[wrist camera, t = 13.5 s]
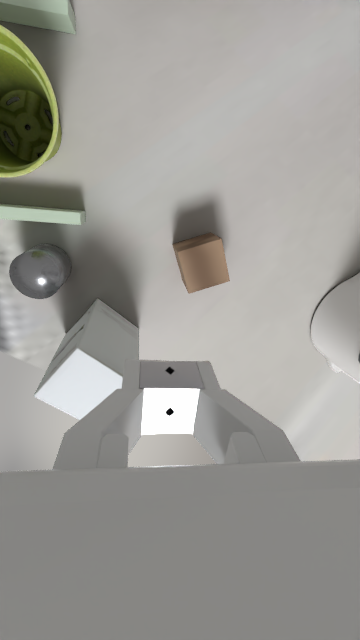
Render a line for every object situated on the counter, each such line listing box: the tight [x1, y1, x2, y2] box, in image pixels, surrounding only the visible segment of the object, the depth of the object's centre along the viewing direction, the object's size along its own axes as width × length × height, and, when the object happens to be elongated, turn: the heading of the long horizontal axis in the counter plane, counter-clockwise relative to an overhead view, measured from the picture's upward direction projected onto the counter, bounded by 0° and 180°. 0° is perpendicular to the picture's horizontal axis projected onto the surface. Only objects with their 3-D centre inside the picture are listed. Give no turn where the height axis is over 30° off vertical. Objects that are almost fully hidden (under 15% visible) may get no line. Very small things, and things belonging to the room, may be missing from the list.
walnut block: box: [173, 232, 230, 293], centre depth 33 cm, size 5×5×5 cm
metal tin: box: [9, 244, 71, 299], centre depth 31 cm, size 5×5×5 cm
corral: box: [0, 0, 86, 225], centre depth 26 cm, size 12×17×3 cm
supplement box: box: [34, 299, 139, 420], centre depth 32 cm, size 7×7×13 cm
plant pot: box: [0, 25, 62, 177], centre depth 23 cm, size 9×9×9 cm
